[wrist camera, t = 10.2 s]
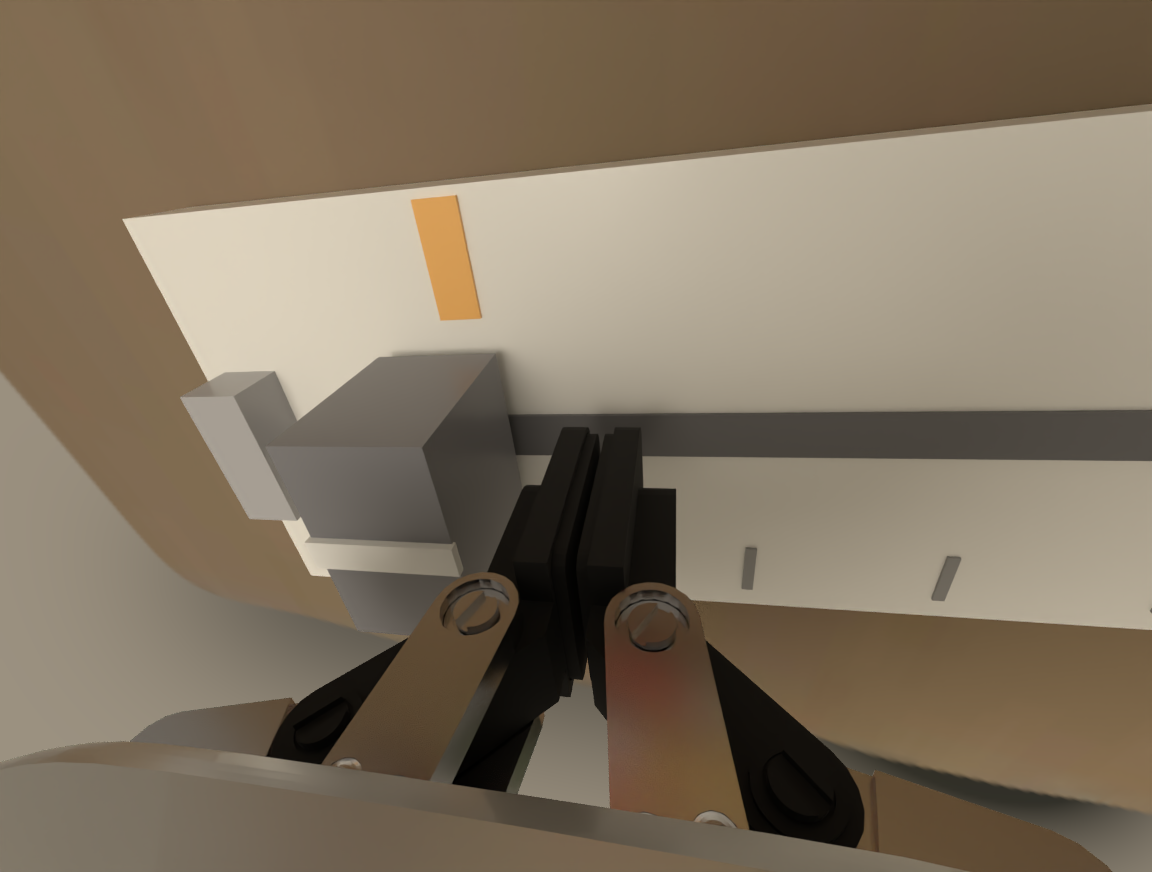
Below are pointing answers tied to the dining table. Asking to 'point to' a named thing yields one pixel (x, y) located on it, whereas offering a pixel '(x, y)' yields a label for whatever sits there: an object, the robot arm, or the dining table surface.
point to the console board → (750, 349)
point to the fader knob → (403, 482)
